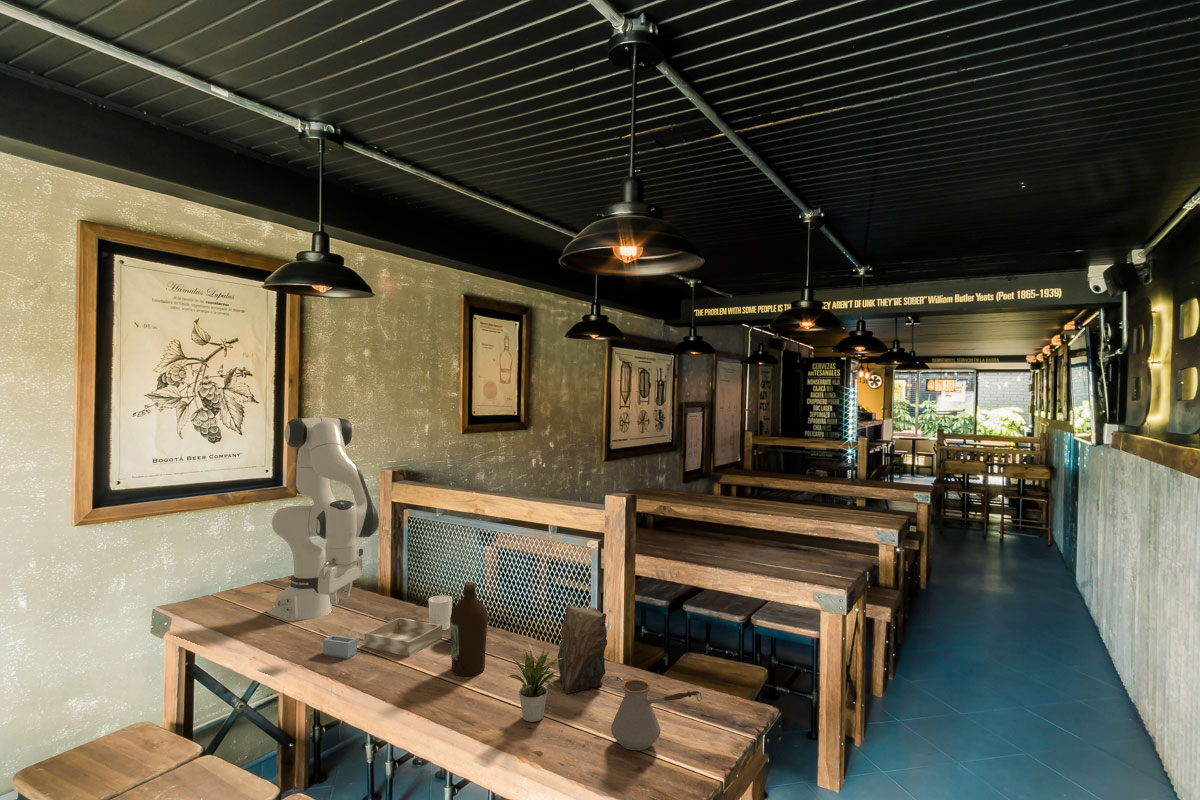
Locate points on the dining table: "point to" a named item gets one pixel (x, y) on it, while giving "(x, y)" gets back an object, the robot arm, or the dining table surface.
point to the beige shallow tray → (403, 636)
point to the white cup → (440, 610)
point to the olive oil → (468, 634)
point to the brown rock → (582, 649)
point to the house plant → (534, 686)
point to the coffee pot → (639, 716)
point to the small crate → (340, 646)
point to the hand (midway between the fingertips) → (340, 600)
